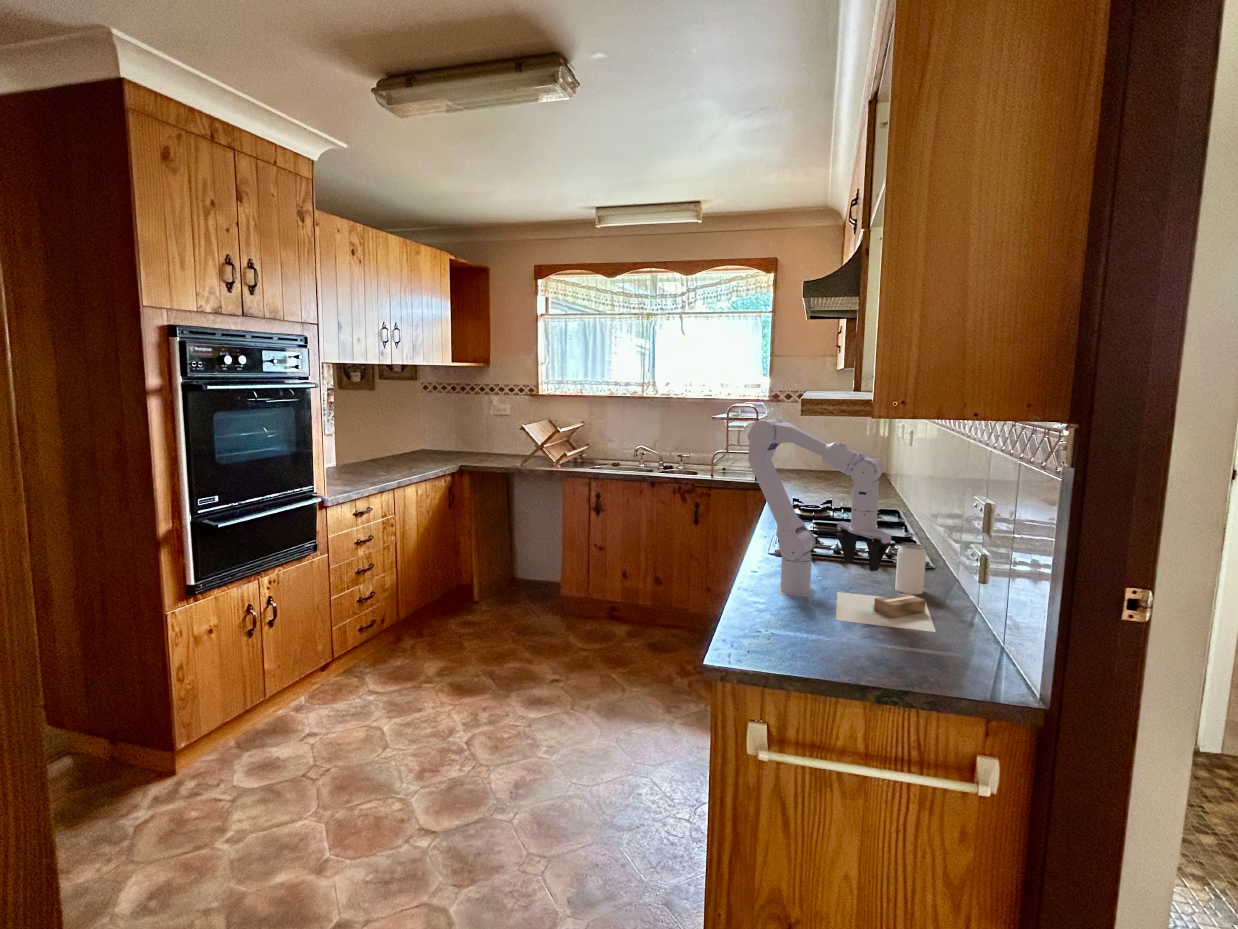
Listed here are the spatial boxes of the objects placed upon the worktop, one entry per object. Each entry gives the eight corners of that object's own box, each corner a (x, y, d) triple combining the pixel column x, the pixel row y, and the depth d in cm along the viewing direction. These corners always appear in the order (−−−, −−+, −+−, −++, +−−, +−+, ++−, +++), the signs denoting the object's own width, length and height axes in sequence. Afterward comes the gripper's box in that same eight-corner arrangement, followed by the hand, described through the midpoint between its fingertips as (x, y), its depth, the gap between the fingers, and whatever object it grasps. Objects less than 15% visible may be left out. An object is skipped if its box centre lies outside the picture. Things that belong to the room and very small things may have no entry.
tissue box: (907, 605, 155) (908, 592, 154) (924, 612, 150) (925, 599, 150) (873, 611, 151) (874, 598, 150) (890, 618, 146) (891, 605, 146)
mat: (837, 594, 164) (837, 591, 164) (925, 603, 158) (925, 601, 158) (835, 622, 146) (835, 619, 145) (935, 634, 139) (935, 631, 139)
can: (925, 597, 163) (929, 549, 161) (897, 595, 164) (901, 548, 162) (919, 589, 169) (922, 543, 167) (892, 587, 170) (895, 541, 168)
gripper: (828, 505, 159) (826, 560, 160) (876, 517, 146) (872, 576, 148) (850, 502, 162) (847, 556, 164) (899, 514, 149) (895, 572, 151)
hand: (861, 566), depth 156 cm, fingers open, 7 cm apart
